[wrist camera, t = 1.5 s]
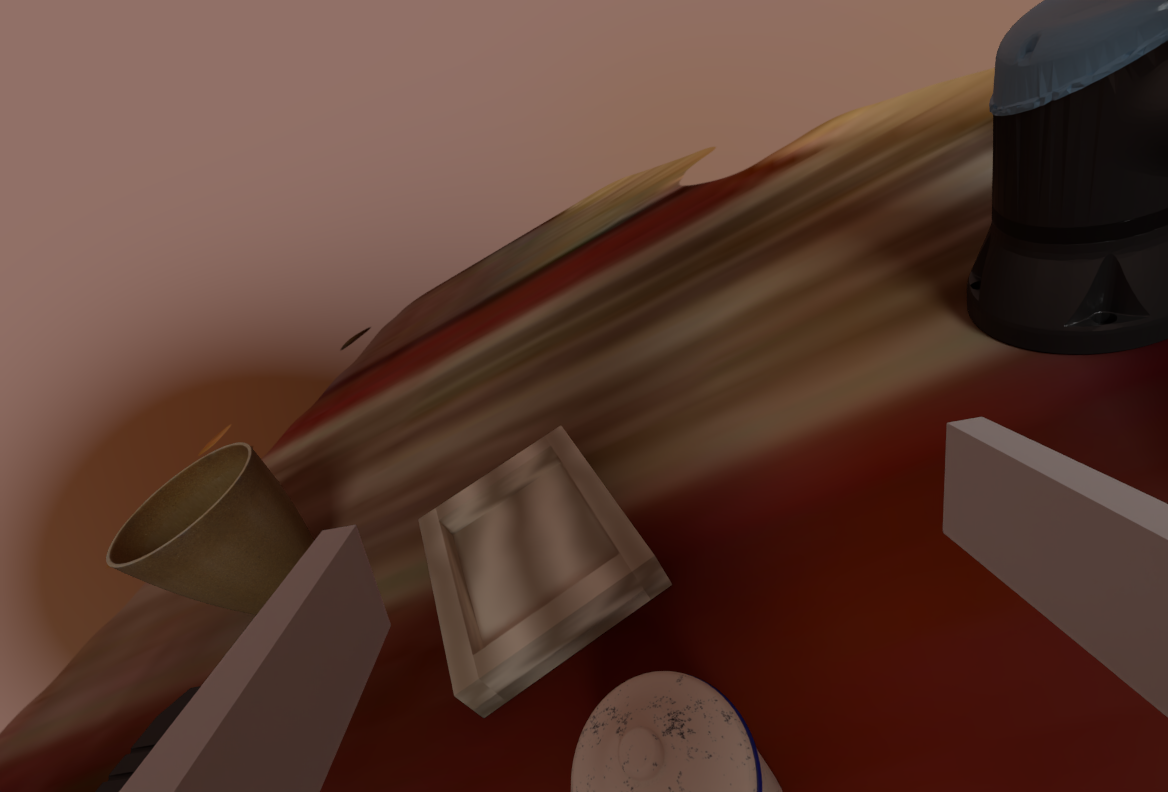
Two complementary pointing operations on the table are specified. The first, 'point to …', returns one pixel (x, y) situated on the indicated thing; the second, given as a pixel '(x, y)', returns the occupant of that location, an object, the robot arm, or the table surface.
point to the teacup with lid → (668, 741)
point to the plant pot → (215, 533)
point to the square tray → (531, 570)
